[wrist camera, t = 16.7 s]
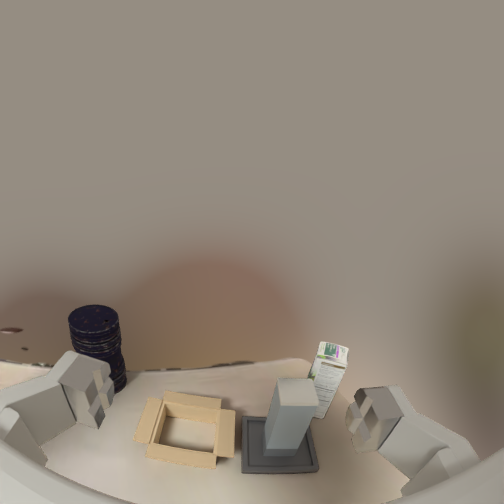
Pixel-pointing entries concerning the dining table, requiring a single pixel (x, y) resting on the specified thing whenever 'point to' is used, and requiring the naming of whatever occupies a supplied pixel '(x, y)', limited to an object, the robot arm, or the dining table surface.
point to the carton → (190, 410)
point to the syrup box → (327, 373)
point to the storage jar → (99, 339)
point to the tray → (274, 464)
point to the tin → (289, 416)
